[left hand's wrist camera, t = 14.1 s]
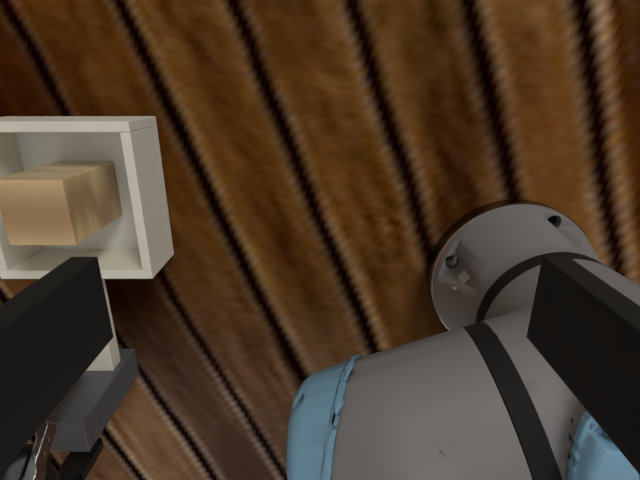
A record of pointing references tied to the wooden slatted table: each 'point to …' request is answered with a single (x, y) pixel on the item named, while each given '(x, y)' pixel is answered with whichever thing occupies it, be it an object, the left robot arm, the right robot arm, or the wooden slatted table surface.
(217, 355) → the wooden slatted table surface
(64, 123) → the handled bin
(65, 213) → the birch block
